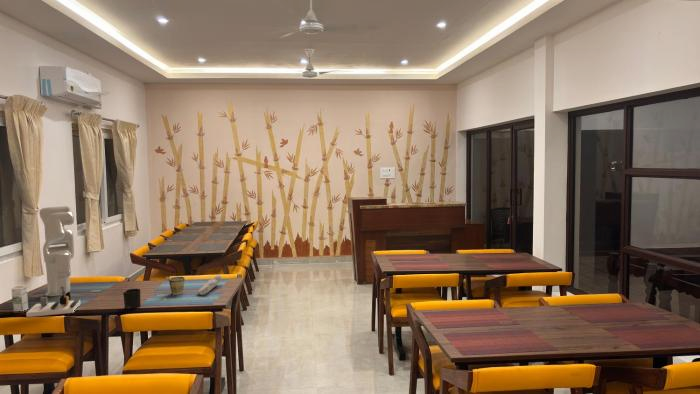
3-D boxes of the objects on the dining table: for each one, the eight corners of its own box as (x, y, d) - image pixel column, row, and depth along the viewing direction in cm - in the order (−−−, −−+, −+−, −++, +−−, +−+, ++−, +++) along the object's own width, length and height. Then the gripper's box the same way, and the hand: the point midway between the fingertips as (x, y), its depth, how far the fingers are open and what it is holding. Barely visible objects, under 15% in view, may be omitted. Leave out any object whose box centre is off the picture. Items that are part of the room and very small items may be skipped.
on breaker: (42, 304, 301) (41, 297, 300) (47, 304, 301) (47, 296, 301) (40, 305, 298) (40, 298, 298) (46, 305, 299) (46, 297, 299)
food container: (224, 279, 352) (220, 272, 352) (211, 294, 323) (207, 286, 322) (210, 286, 354) (206, 279, 353) (195, 301, 324) (191, 294, 323)
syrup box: (28, 309, 301) (27, 285, 300) (22, 312, 296) (20, 288, 294) (19, 309, 301) (17, 285, 300) (12, 312, 295) (11, 288, 294)
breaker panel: (36, 307, 304) (36, 303, 304) (80, 303, 311) (80, 299, 311) (26, 317, 287) (26, 312, 287) (73, 312, 294) (73, 308, 293)
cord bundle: (57, 302, 305) (57, 299, 305) (79, 300, 309) (79, 297, 308) (50, 310, 291) (50, 306, 291) (73, 308, 294) (73, 304, 294)
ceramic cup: (180, 295, 325) (179, 280, 324) (166, 295, 327) (165, 280, 326) (190, 290, 338) (189, 275, 337) (176, 289, 340) (176, 275, 339)
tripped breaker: (63, 303, 301) (62, 296, 301) (68, 303, 302) (68, 296, 301) (62, 305, 299) (61, 297, 298) (67, 304, 300) (67, 297, 299)
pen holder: (121, 307, 302) (120, 290, 302) (137, 303, 309) (136, 287, 308) (127, 310, 296) (126, 293, 295) (143, 307, 302) (142, 290, 301)
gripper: (60, 271, 306) (62, 298, 307) (52, 277, 289) (54, 306, 291) (74, 270, 308) (75, 297, 309) (66, 276, 291) (68, 305, 293)
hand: (65, 302), depth 300 cm, fingers open, 9 cm apart
